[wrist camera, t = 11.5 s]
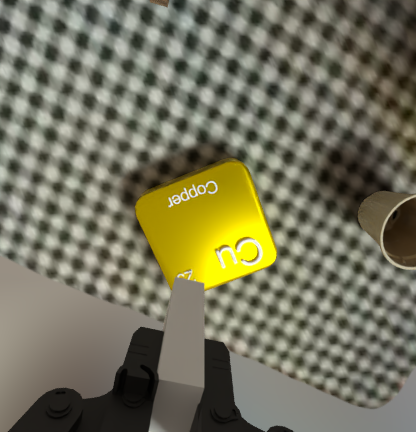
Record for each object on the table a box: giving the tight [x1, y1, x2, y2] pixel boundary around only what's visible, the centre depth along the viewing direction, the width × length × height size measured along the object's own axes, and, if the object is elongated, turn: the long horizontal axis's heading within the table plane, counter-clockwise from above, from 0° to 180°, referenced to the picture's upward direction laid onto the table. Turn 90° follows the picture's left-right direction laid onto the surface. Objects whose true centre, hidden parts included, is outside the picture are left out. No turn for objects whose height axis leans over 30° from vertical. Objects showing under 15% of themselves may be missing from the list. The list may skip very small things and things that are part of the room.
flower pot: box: [358, 191, 416, 270], centre depth 41 cm, size 9×9×9 cm
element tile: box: [135, 158, 277, 291], centre depth 43 cm, size 15×15×5 cm
